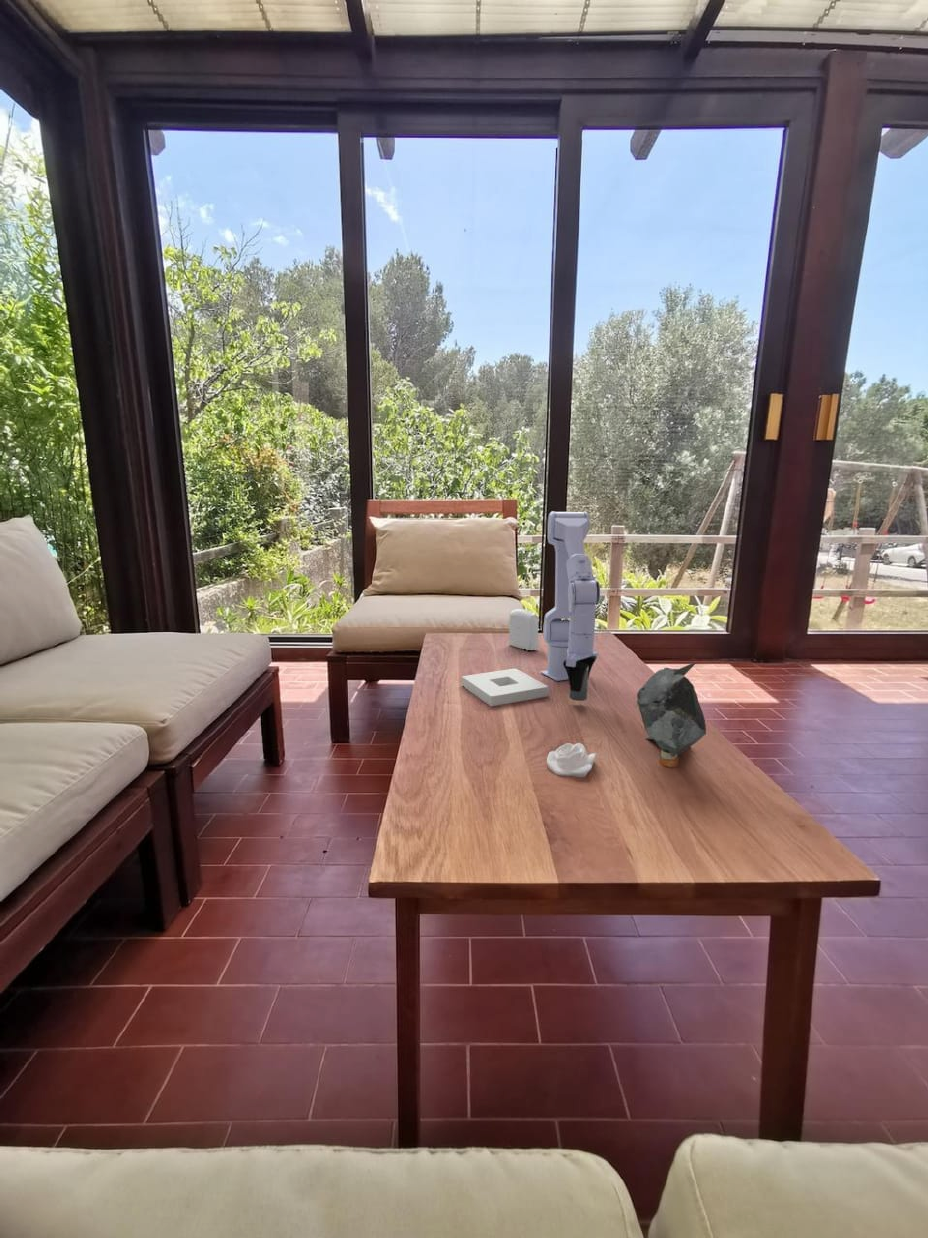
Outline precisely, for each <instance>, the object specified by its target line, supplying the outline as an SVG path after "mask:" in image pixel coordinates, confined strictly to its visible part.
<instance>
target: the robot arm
mask: <svg viewBox="0 0 928 1238" xmlns="http://www.w3.org/2000/svg"><path fill="white" fill-rule="evenodd" d="M590 520H591V519H590V515H589V513H588V512H587V511H550V512H549V514H548V517H547V540H548V541H547V542H548V544H550V545H552V546H553V547H554V552H555V566H554V567H555V572H554V574H555V575H554V577H555V578H554V580H555V582H554V585H555V586H554V588H555V589H554V607H553V608H551V609H550V610H549V611H547V612H546V613H545V615H544V620H543V621H544V622H543V627H542V629H543V630H542V635H543V640H544V642H545V643H547V644H548V650H547V654H548V655H547V669H546V670H540V674H542V675H545V677H548V678H550V679H552V680H554V681H556V682H560V681H566V680H568V683H569V689H570V688H571V691H576V692H580V690H581V688H582V683H583V678H584V674H585V672H586V669H587V668H588V666H589V669H588V679H589V677H590V674H591V670H592V667H593V665H594V663H595V662H596V660H597V656H599V651H597V650H595V647H594V646H595V644H594V642H595V630H596V629H595V625H596V612H597V611H596V610H597V607H596V606H598V605H599V604H600V599H601V585H600V581H599V579H597V576H594V572H593V567H592V562H591V559H590V558H589V556H587V555H586V554H585V547H584V545H585V544H584V540H585V538H587V535H588V534H589V531H590ZM582 663H585V664H582Z"/></svg>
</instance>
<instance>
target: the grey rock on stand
mask: <svg viewBox="0 0 928 1238" xmlns="http://www.w3.org/2000/svg"><path fill="white" fill-rule="evenodd" d="M698 662H699V660H696V661H695V662H693V663H690V664H688V665H685V666H682V667H680V668H669V667H664V668H662V669H659V670H657V671H656V672H655V673H654V674H653V675H652V676H650V678H648V680H647V681H646V683H644V685H643V686H642V687H641V688H640V689H639V690H638V691H637V693H636V695H637V696H636V697H637V701H636V703H637V706H638V709H639V713H640V717H641V721H642V723H643V726H644V729H645V732H646V734H647V737H646V738H645V739H647V740H650V741H652V742H655V743H656V745H658V747H659V748H660V751H661V752H660V754H659V755H660V757H659V763H660V764H661V765H662V766H664V767H668V768H677V767H679V766H680V761H679V758H680V756H681V755H682V754H683V753H684V752H685V751H686V750H688V749H689V748H690V747H691V746H693V745H694V744H696V743H697V742H699V741H700V740H701V739H702V738H703V737H704V736H705V735H706V734H707V727H706V726H707V725H706V720H705V715H704V712H703V710H702V707H701V705H700V702H699V700H698V693H697V692H696V690H695V689H696V688H695V686H694V684H693V683H692V682H691V680H690V679H689V678H687V677H685V675H686V674H687V673H688V672H689V671H690V670H691V669H692V668H693V667H694V666H695V665H696V664H698Z"/></svg>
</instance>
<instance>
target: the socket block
mask: <svg viewBox="0 0 928 1238" xmlns="http://www.w3.org/2000/svg"><path fill="white" fill-rule="evenodd" d="M461 686H462V687H463V686H464V687H465V688H464V687H463V688H464V689H465V690H467V689H468V690H467V691H468V692H470V693H471V694H473V695H474V696H475V697H477V698H478V699H480V700H481V701H482V702H484V703H486V705H488V706H490V707H495V706H500V705H501V706H502V705H507V704H512V703H519V702H524V701H529V700H535V699H540V698H546V697H549V690H550V689H549V686H548V685H547V684H544V683H543V682H541V681H539V680H538V679H536V678H534V677H531V676H530V675H528V674H526V673H525V672H524V671H521V670H519V669H517V668H509V669H502V670H495V671H489V672H482V673H475V674H470V675H469V674H468V675H462V676H461Z"/></svg>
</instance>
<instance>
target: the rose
mask: <svg viewBox="0 0 928 1238" xmlns="http://www.w3.org/2000/svg"><path fill="white" fill-rule="evenodd" d="M597 757H598V754H597V753H591V754H590V753H589V754H588V751H587V749H586V747H585V745H583V744H582V743H580V742H577V743H575V744H573V743H570V742H569V743H568V742H567V743H563V745H560V746H559V747H558V748H556V750H551V751H549V753H548V754H547V758H546V765H547V767H548V768H549V771H551V772H552V773H554V774H556V775H557V776H562V777H563V776H564V777H565V776H566V777H567V776H568V777H579V778H584V777H586V776H587V774H588V773H589V772H590V771H591V770H592V769H593V764H595V761H596V759H597Z"/></svg>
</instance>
